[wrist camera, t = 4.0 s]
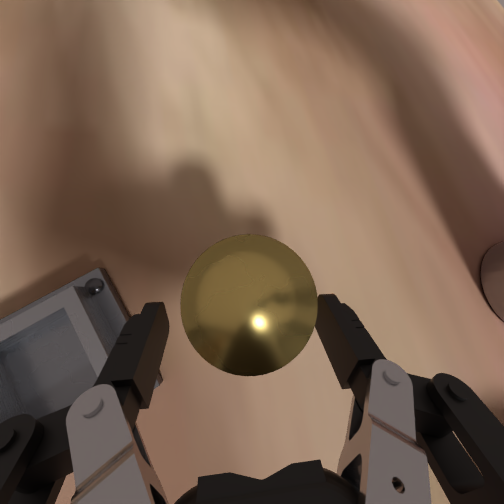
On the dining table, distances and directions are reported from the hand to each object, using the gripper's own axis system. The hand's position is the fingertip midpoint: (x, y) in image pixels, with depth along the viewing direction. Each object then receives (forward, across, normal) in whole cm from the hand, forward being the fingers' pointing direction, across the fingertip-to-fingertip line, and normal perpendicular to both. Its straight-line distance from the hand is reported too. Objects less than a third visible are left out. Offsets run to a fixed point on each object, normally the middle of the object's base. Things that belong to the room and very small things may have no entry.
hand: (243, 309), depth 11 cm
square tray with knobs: (+2, +13, +7) cm, 15 cm away
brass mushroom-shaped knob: (+5, 0, +4) cm, 7 cm away
